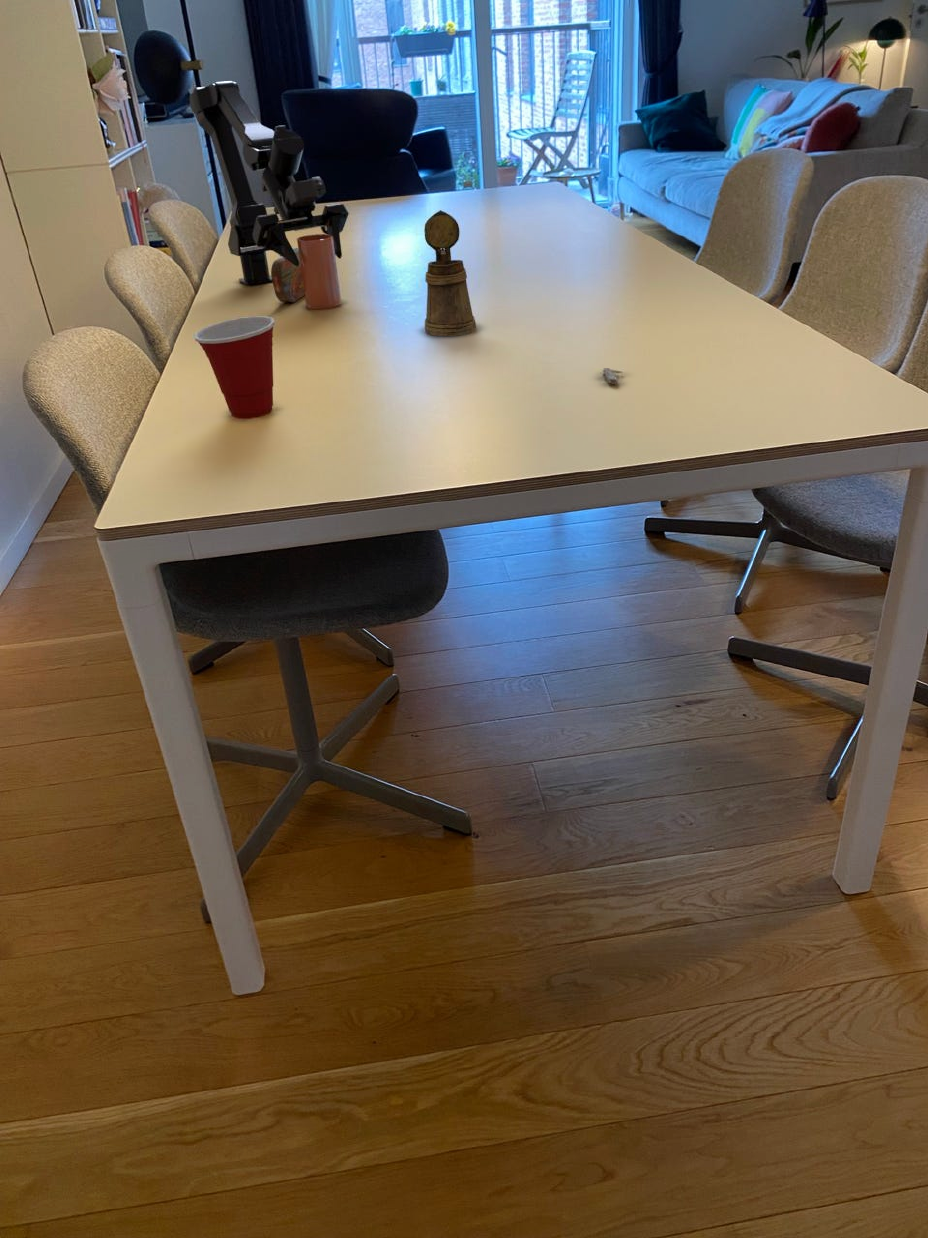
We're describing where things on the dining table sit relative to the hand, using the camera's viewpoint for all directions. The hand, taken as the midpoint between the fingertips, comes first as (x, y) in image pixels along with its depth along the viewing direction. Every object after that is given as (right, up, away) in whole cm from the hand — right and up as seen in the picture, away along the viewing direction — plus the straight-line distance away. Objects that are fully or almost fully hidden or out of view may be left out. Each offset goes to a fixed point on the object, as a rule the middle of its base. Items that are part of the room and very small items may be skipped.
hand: (319, 260), depth 174 cm
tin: (-7, -3, +12) cm, 14 cm away
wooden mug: (+25, -18, -15) cm, 34 cm away
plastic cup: (-2, -40, -48) cm, 63 cm away
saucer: (-11, +18, +46) cm, 50 cm away
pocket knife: (+49, -34, -46) cm, 75 cm away
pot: (0, -7, +5) cm, 8 cm away
